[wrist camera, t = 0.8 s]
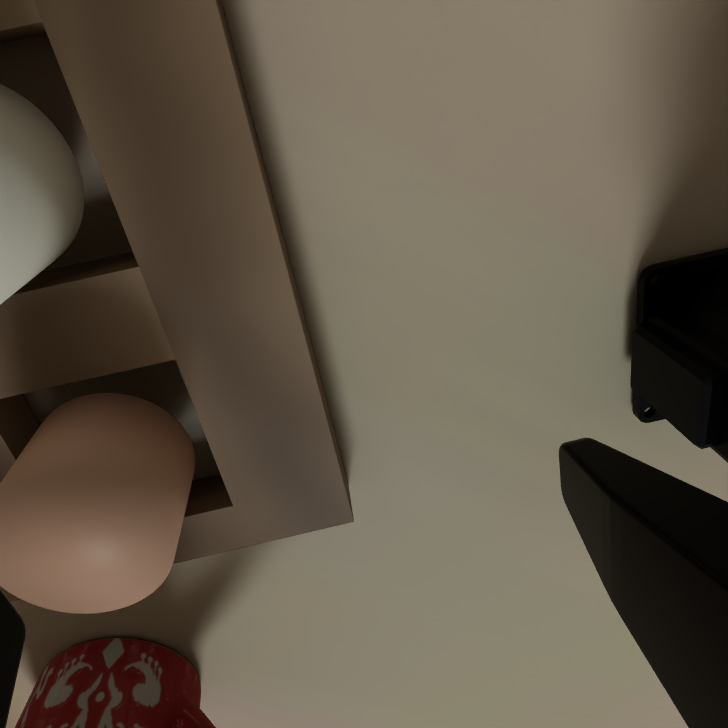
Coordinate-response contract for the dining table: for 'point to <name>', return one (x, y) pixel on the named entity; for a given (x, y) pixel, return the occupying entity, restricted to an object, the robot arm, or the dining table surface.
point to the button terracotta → (95, 505)
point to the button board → (179, 270)
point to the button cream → (34, 192)
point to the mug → (116, 688)
